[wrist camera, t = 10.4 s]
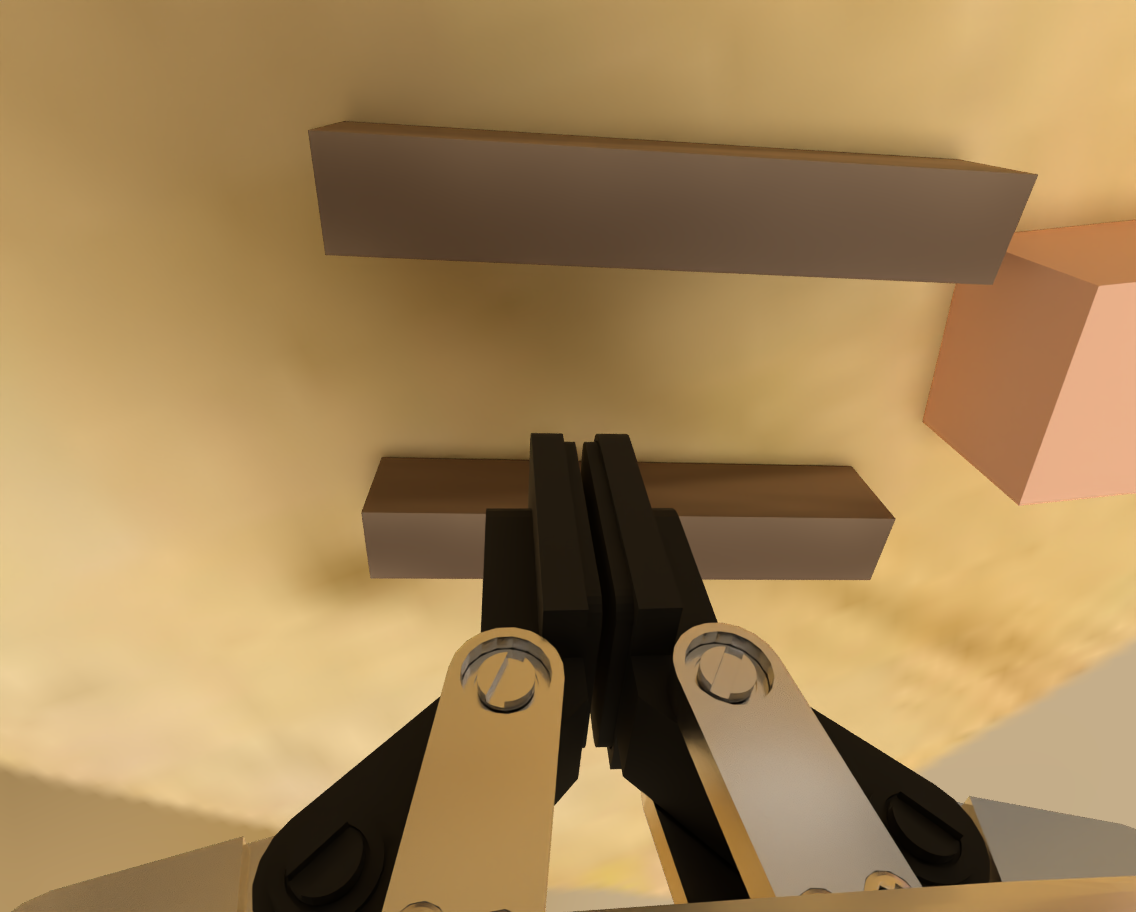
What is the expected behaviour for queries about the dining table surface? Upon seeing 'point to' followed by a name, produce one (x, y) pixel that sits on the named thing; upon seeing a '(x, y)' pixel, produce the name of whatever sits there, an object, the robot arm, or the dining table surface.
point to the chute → (656, 242)
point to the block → (1045, 367)
